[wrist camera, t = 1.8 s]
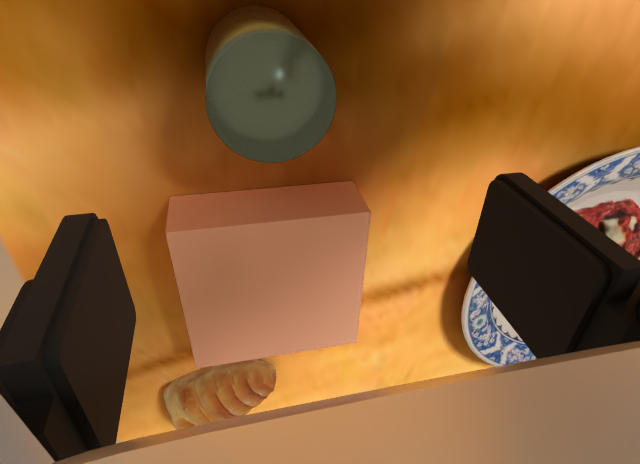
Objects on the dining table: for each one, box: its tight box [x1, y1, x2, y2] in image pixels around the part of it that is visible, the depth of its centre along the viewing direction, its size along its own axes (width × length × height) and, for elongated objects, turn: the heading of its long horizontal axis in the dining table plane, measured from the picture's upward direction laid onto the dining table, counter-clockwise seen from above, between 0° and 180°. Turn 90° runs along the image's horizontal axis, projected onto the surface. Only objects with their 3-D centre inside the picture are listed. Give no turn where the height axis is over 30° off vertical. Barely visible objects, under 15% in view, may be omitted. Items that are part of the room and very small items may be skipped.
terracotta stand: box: [165, 181, 371, 369], centre depth 30 cm, size 12×12×4 cm
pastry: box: [164, 359, 276, 430], centre depth 37 cm, size 9×7×4 cm
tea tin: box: [206, 5, 337, 163], centre depth 21 cm, size 6×6×7 cm
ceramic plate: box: [461, 147, 640, 367], centre depth 39 cm, size 26×26×3 cm
